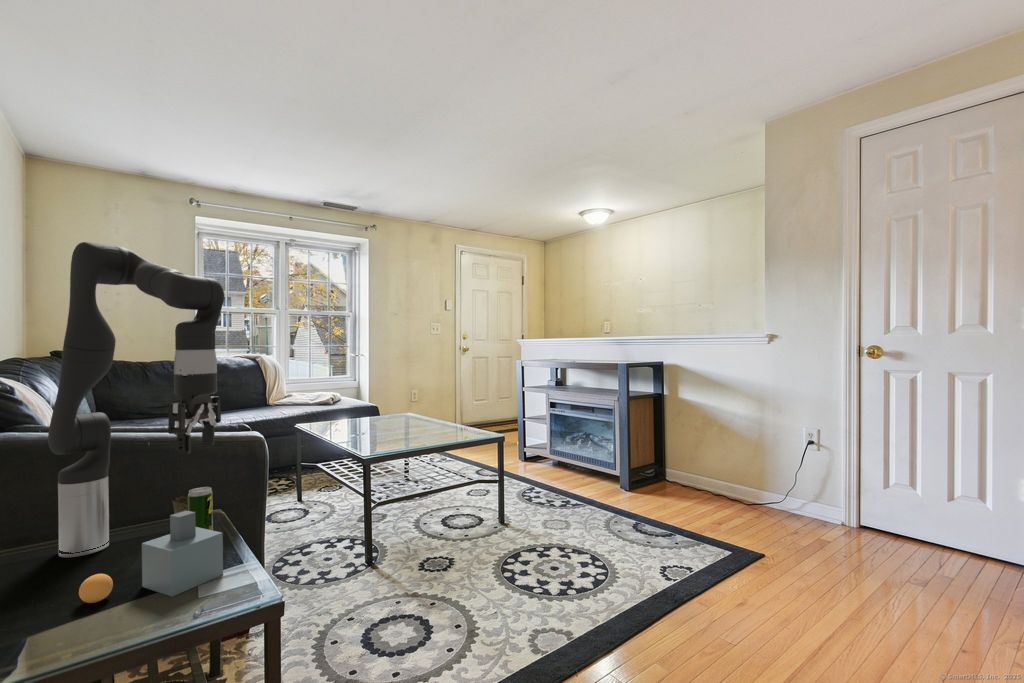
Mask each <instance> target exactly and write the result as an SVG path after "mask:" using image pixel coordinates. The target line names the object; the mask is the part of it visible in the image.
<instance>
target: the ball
mask: <svg viewBox="0 0 1024 683" xmlns="http://www.w3.org/2000/svg"><path fill="white" fill-rule="evenodd" d="M113 587H114V582H113V579H112V578H111V576H109V574H105V573H96V574H94V575H93V574H92V575H91V576H89V577H88V578H87V577H86V579H85V580H84V581H83V582H82V583H81V585H80V586H79V590H78V596H79V598H80V599H81V601H83V602H84V603H88V604H95V603H98V602H100V601H102V600H104V599H106V598H107V597H108V596H109V595H110V593H111V592H112V590H113Z"/></svg>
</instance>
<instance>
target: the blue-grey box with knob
mask: <svg viewBox="0 0 1024 683" xmlns="http://www.w3.org/2000/svg"><path fill="white" fill-rule="evenodd" d="M169 525H170V526H169V529H170V532H169V534H166V535H163V536H159V537H157V538H154V539H153V538H152V539H150V540H147V541H144V542H142V543H141V583H142V584H141V585H142V588H144V589H147V590H150V591H154V592H157V593H160V594H162V595H166V596H169V597H171V598H172V597H175V596H177V595H179V594H181V593H184V592H186V591H189V590H192V589H193V588H195V587H198V586H200V585H202V584H204V583H207V582H209V581H212V580H214V579H216V578H218V577H220V576H222V575H224V551H223V550H224V546H223V545H224V542H223V540H224V539H223V532H221V531H216V530H213V531H212V530H208V529H203V528H199V527H196V524H195V512H191V511H183V512H179V513H176V514H174V513H173V514H170V515H169Z"/></svg>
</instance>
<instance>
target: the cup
mask: <svg viewBox="0 0 1024 683" xmlns="http://www.w3.org/2000/svg"><path fill="white" fill-rule="evenodd" d="M171 501H172V508H173V514H176V513H179V512H183V511H188V495H187V496H182V495H181V496H180V497H176V498H175V501H174V500H171Z"/></svg>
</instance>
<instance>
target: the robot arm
mask: <svg viewBox="0 0 1024 683" xmlns="http://www.w3.org/2000/svg"><path fill="white" fill-rule="evenodd" d="M69 280H70V281H69V305H68V314H67V322H66V329H65V333H64V340H63V347H62V354H61V363H60V375H59V382H58V388H57V395H56V398H55V402H54V406H53V410H52V414H51V419H50V423H49V426H48V435H47V436H48V437H47V441H48V448H49V450H50V451H51V452H52V453H53V454H54V455H59V456H60V455H70V454H77V453H81V452H85V454H84V456H83V457H82V458H81V459H79V460H78V461H76V462H74V463H73V464H71V465H68V466H66V467H64V468H62V469H61V470H60V471H58V473H57V495H58V497H57V498H58V501H57V502H58V504H57V505H58V507H57V508H58V551H59V550H60V551H63V552H69V553H70V552H71V553H74V554H61V553H59V552H58V557H59V558H75V557H81V556H87V555H90V554H94V553H97V552H100V551H102V550H105V549H106V548H108V547H109V546H110V509H109V508H110V506H109V505H110V504H109V501H110V498H109V492H110V491H109V468H110V462H111V460H110V459H111V458H110V457H111V440H112V427H111V426H112V424H111V421H110V418H109V417H108V415H107V414H106V413H104V412H100V411H98V412H88V413H87V412H86V413H78V410H79V407H80V405H81V403H83V400H84V399H85V397H86V396H87V395H88V393H89V392H90V391H91V390H92V389H93V388H94V387H95V386H96V385H97V384H98V383H99V382H100V381H101V380H102V379H103V378H104V377H105V376H106V374H107V373H108V372H109V370H111V368H112V365H113V364H114V363H113V362H114V356H115V349H116V336H115V333H114V331H113V330H112V328H111V326H110V325H109V324H108V322H107V321H106V319H105V317H104V315H103V314H102V312H101V311H100V309H99V306H98V303H97V294H96V292H97V286H98V285H110V286H111V285H112V286H119V285H121V286H122V285H129V286H131V285H132V286H136V288H138V289H139V291H141V292H143V293H144V294H146V295H148V296H150V297H154V298H155V299H159V300H161V301H162V302H163V303H165V304H166V305H167V306H169V307H172V308H175V309H179V310H191V311H192V310H194V311H196V314H195V316H194V318H193V319H192V320H185V321H182V322H178V324H176V326H175V329H174V332H175V333H174V334H175V335H174V338H175V339H174V340H175V341H174V342H175V345H174V346H175V351H174V358H173V359H174V360H173V387H174V388H173V389H174V390H173V393H174V395H175V396H178V397H179V396H180V402H172V403H171V402H170V403H169V405H168V426H167V427H168V428H167V429H168V430H167V432H168V434H169V435H174V436H176V438H177V439H176V445H177V446H176V450H177V451H176V452H177V454H178V455H188V454H191V452H192V445H191V444H192V441H191V440H192V436H191V433H192V430H193V427H194V426H196V425H197V423H198V422H199V423H200V425H201V427H202V428H201V439H202V440H201V441H202V445H203V446H212V445H214V444H215V428H216V427H217V425H218V424H220V423H221V421H222V412H221V411H222V410H221V397H220V396H219V395H217V396H215V395H214V394H216V393H218V361H217V352H216V329H217V326H218V322H219V319H220V316H221V312H222V308H223V305H224V302H225V291H224V288H223V286H222V284H221V283H220V282H219V281H218V280H216V279H215V278H211V277H205V276H197V275H195V276H194V275H190V274H189V275H188V274H184V273H183V272H182V271H179V270H177V269H175V268H171V267H169V266H165V265H161V264H157V263H154V262H151V261H150V260H148V259H145V258H143V257H142V256H140V255H139V254H137V253H135V252H134V251H132V250H130V249H128V248H126V247H124V246H117V245H112V244H105V243H99V242H97V243H96V242H88V241H84V242H79V243H77V245H75V248H74V249H73V252H72V256H71V259H70V278H69ZM211 395H213V396H211ZM108 541H109V542H108ZM107 542H108V543H107ZM106 543H107V544H106ZM104 544H105V545H104ZM102 545H104V546H102ZM100 546H101V547H100ZM97 547H99V548H97ZM93 548H96V549H93ZM89 549H93V550H89ZM85 550H89V551H85ZM81 551H85V552H81ZM75 552H80V553H75Z"/></svg>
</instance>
